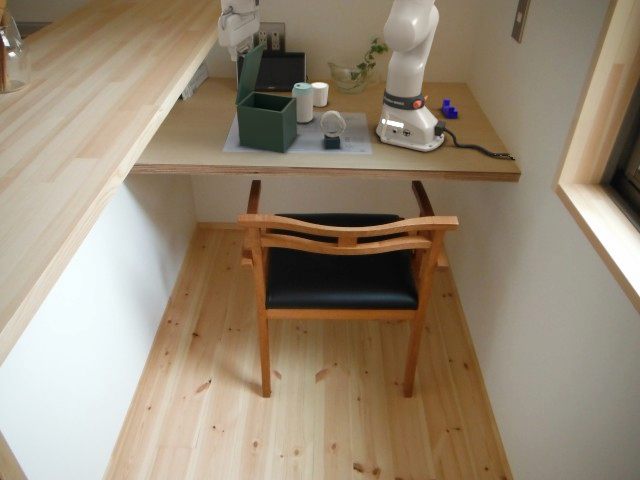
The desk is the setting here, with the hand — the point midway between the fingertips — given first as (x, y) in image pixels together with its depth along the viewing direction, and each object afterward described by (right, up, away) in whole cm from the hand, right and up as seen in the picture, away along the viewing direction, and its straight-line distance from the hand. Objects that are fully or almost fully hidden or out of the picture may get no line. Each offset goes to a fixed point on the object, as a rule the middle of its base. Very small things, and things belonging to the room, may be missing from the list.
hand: (242, 55), depth 133 cm
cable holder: (+70, -7, +34) cm, 78 cm away
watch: (+26, -23, +13) cm, 38 cm away
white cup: (+22, -2, +39) cm, 45 cm away
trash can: (+6, -21, +14) cm, 27 cm away
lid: (+2, -5, +3) cm, 6 cm away
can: (+17, -11, +28) cm, 34 cm away
